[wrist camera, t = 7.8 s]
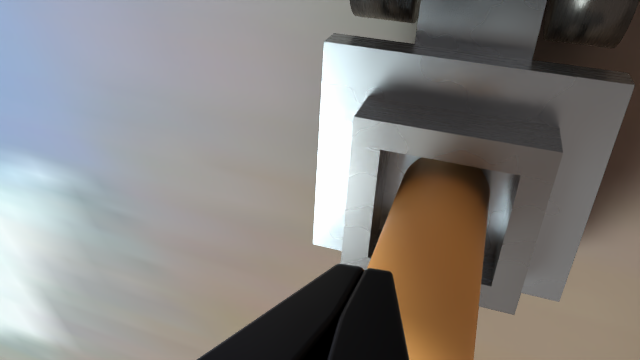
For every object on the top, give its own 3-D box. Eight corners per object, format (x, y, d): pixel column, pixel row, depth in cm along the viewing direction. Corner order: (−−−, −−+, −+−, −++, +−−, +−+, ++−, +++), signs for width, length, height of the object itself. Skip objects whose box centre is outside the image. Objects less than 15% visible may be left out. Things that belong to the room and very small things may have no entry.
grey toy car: (652, -96, 15) (717, -82, 10) (543, 251, 21) (550, 369, 16) (374, -114, 17) (311, -111, 12) (345, 208, 23) (295, 302, 18)
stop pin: (498, 161, 16) (483, 333, 10) (480, 237, 17) (458, 429, 11) (406, 145, 16) (341, 297, 10) (396, 219, 17) (332, 392, 12)
